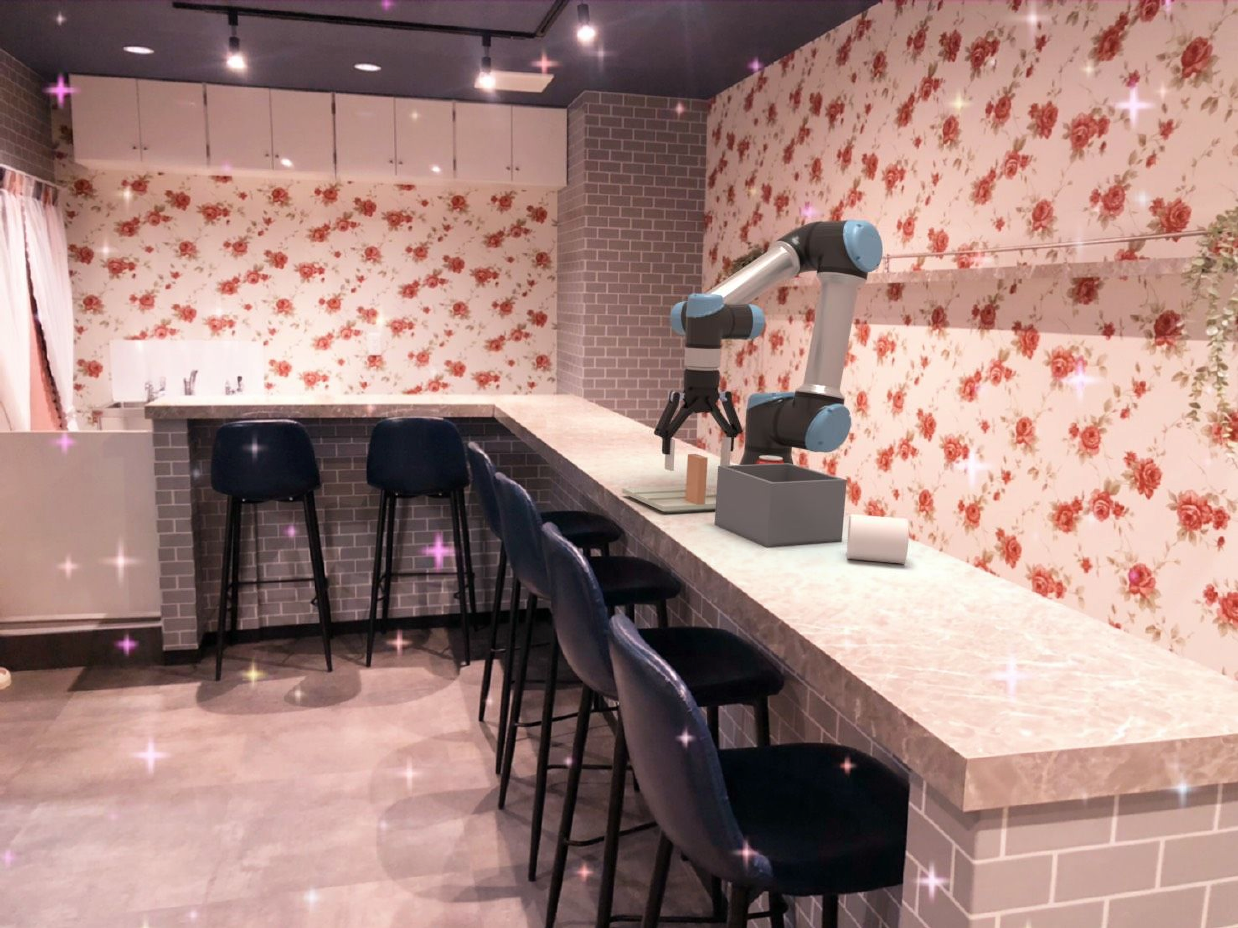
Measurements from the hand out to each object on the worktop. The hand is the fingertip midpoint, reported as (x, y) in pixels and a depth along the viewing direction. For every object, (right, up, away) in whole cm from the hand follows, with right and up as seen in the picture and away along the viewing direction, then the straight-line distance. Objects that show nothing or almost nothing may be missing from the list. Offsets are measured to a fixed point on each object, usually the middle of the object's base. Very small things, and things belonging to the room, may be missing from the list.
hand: (697, 468), depth 210 cm
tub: (+14, -13, -16) cm, 25 cm away
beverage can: (+15, -10, +3) cm, 18 cm away
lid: (-4, -8, +8) cm, 12 cm away
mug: (+30, -16, -32) cm, 46 cm away
